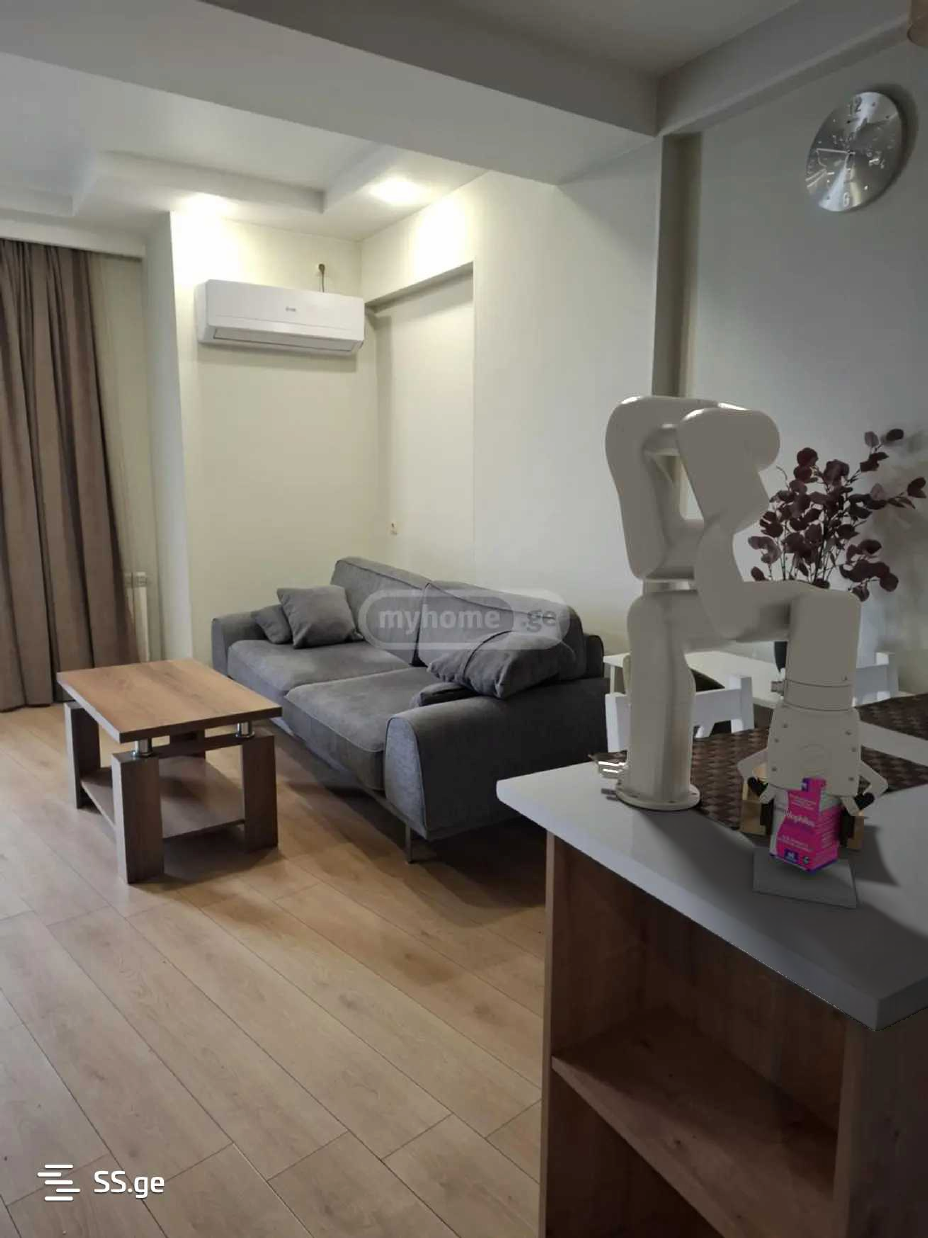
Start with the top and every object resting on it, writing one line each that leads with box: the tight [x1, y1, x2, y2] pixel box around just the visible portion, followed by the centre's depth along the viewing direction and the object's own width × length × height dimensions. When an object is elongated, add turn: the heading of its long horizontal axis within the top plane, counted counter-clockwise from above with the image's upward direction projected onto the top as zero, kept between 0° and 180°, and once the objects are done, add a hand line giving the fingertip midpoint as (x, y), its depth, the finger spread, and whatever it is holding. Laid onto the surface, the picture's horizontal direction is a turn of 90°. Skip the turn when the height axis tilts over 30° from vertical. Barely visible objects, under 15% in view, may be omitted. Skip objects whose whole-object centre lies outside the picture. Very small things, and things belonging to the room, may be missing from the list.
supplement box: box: [769, 778, 842, 873], centre depth 100 cm, size 6×6×12 cm
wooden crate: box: [739, 762, 870, 851], centre depth 116 cm, size 15×19×6 cm
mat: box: [752, 845, 857, 910], centre depth 101 cm, size 11×11×1 cm
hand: (804, 836), depth 100 cm, fingers closed on supplement box, 7 cm apart
